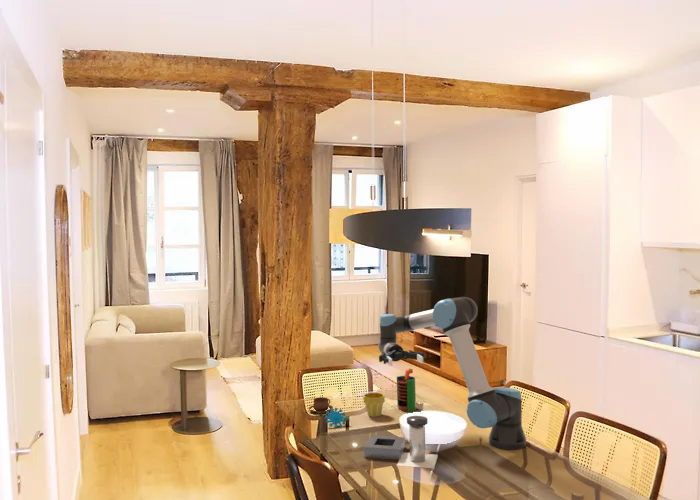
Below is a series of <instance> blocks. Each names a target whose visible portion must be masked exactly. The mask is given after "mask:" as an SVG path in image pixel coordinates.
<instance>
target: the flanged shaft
mask: <svg viewBox="0 0 700 500" xmlns="http://www.w3.org/2000/svg"><path fill="white" fill-rule="evenodd" d="M406 424H407V425H409V453H410V461H412V462H416V463H420V462H424V461H425V454H426V425H428V418H427V416H422V415H410V416H408V417H406Z"/></svg>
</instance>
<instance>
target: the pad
mask: <svg viewBox="0 0 700 500" xmlns="http://www.w3.org/2000/svg"><path fill="white" fill-rule="evenodd" d="M438 456H439V455H438V454H432V453H430V454H429V453H425V461H424V462H420V463H416V462H412V461H410V452H404V451H403V453H402V455H401V457H400V459H399V460H398V462H397V463H396V466H399V467H412V468H413V467H414V468H422V469H423V468H425V469H430V471H433V472H434V471H435V468H436V464H437V460H438Z"/></svg>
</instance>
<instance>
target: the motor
mask: <svg viewBox="0 0 700 500" xmlns="http://www.w3.org/2000/svg"><path fill="white" fill-rule="evenodd" d="M413 373H414V371H413V368H407V369H406V370H405V373H404V375H400V376H399V375H398V376H396V399H397V402H396V403H397V409H399V410H398V411H400V410H401V412H408V413H410V412H414V411H416V410H417V404H416V403H417V401H416V400H417V399H416V378H415V376H411V375H410V374H413Z"/></svg>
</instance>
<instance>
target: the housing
mask: <svg viewBox="0 0 700 500" xmlns="http://www.w3.org/2000/svg"><path fill="white" fill-rule="evenodd" d="M405 440H406V437H404V436H401V437H400V436H390V435H389V436H388V435H386V436H385V435H371V434H370V437H369V439H368V440H367V442H366V443H365V445H364V446H363V456H364V458H371V459H381V460H382V459H385V460H398V461H399V459H400V457H401V455H402V453H403V452H404V451H405V448H406V441H405Z"/></svg>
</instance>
